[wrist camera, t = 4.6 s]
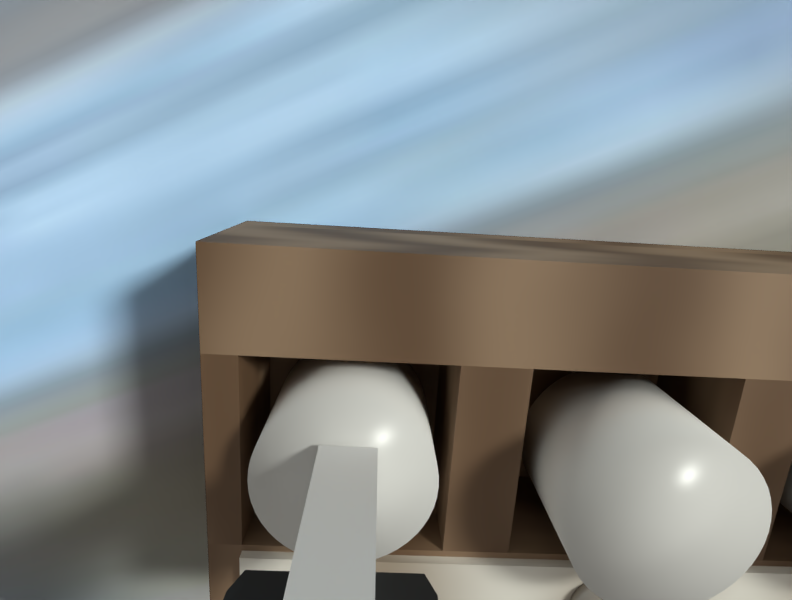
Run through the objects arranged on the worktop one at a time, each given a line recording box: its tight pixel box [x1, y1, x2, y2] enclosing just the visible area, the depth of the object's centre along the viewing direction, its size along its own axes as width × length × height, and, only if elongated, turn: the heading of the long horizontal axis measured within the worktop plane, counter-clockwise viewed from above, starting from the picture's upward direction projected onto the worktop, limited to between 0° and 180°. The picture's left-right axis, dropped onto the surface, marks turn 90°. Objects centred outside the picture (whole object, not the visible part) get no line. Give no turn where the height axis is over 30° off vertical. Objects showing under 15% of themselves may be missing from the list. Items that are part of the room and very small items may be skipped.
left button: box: [247, 358, 439, 559], centre depth 15 cm, size 5×5×4 cm
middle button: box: [522, 371, 772, 600], centre depth 14 cm, size 5×5×4 cm
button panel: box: [196, 221, 792, 600], centre depth 17 cm, size 24×12×6 cm, turn 86°
